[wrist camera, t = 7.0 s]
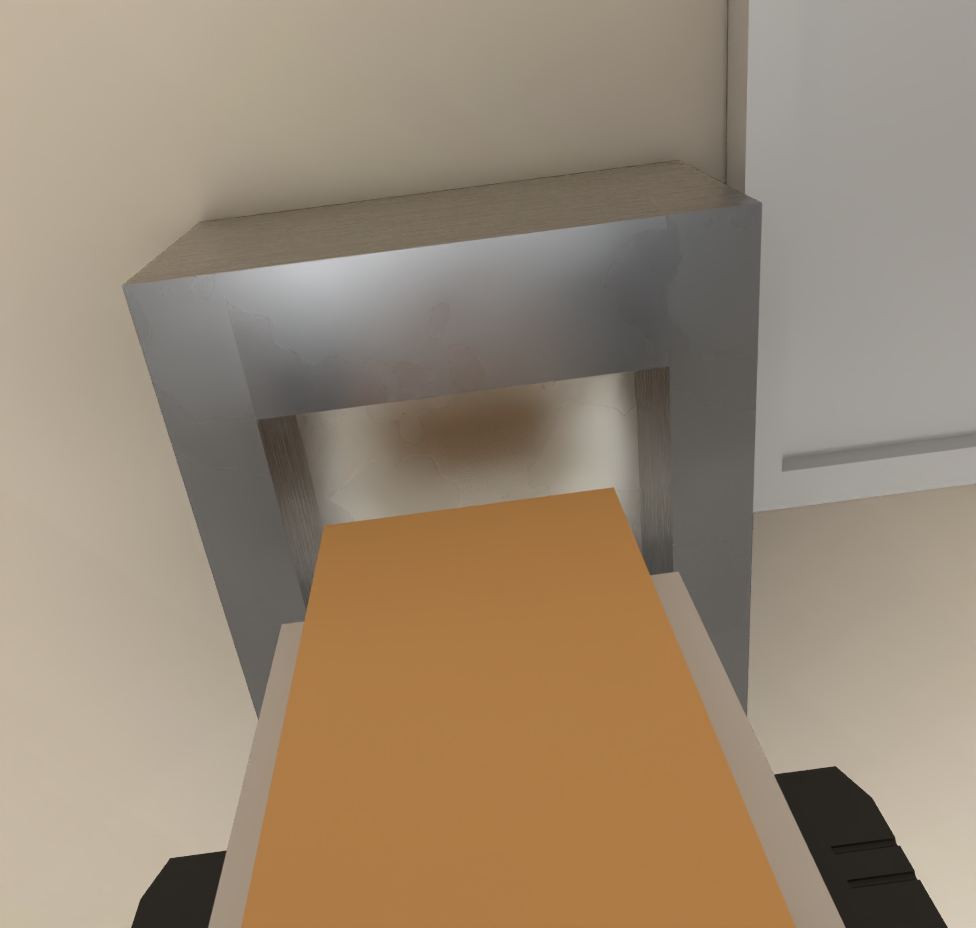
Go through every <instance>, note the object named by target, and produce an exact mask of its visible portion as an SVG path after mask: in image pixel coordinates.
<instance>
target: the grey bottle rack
mask: <svg viewBox="0 0 976 928" xmlns="http://www.w3.org/2000/svg"><path fill="white" fill-rule="evenodd" d="M761 229H762V202H760V201H758V200H756V199H754V198H752V197H750V196H748V195H746V194H744V193H742V192H740V191H738V190H736V189H734V188H732V187H730V186H728V185H726V184H724V183H722V182H720V181H718V180H716V179H714V178H712V177H710V176H708V175H706V174H705V173H703V172H701V171H699V170H697V169H695V168H693V167H691V166H689V165H687V164H685V163H683V162H681V161H679V160H678V161H670V162H663V163H655V164H647V165H640V166H632V167H624V168H616V169H609V170H601V171H593V172H585V173H578V174H570V175H562V176H554V177H547V178H539V179H531V180H523V181H516V182H508V183H500V184H492V185H485V186H477V187H469V188H462V189H454V190H446V191H438V192H431V193H423V194H415V195H407V196H400V197H392V198H384V199H376V200H369V201H361V202H353V203H345V204H338V205H330V206H322V207H314V208H307V209H299V210H291V211H284V212H276V213H268V214H260V215H253V216H245V217H237V218H229V219H222V220H214V221H206V222H199V223H198V224H197V225H196V226H195V227H193V228H192V229H191V230H190V231H188V232H187V233H186V234H185V235H184V236H182V237H181V238H180V239H179V240H177V241H176V242H175V243H174V244H172V245H171V246H170V247H169V248H168V249H166V250H165V251H164V252H163V253H161V254H160V255H159V256H158V257H157V258H155V259H154V260H153V261H152V262H150V263H149V264H148V265H147V266H146V267H144V268H143V269H142V270H141V271H139V272H138V273H137V274H136V275H135V276H133V277H132V278H131V279H130V280H128V281H127V282H126V283H125V284H123V285H122V287H123V290H124V294H125V297H126V300H127V303H128V306H129V310H130V313H131V316H132V319H133V322H134V325H135V329H136V332H137V335H138V338H139V341H140V345H141V348H142V351H143V354H144V357H145V361H146V364H147V367H148V370H149V373H150V376H151V380H152V383H153V386H154V389H155V392H156V396H157V399H158V402H159V405H160V408H161V412H162V415H163V418H164V421H165V424H166V427H167V431H168V434H169V437H170V440H171V443H172V447H173V450H174V453H175V456H176V459H177V463H178V466H179V469H180V472H181V475H182V478H183V482H184V485H185V488H186V491H187V494H188V498H189V501H190V504H191V507H192V510H193V513H194V517H195V520H196V523H197V526H198V529H199V533H200V536H201V539H202V542H203V545H204V549H205V552H206V555H207V558H208V561H209V564H210V568H211V571H212V574H213V577H214V580H215V584H216V587H217V590H218V593H219V596H220V600H221V603H222V606H223V609H224V612H225V615H226V619H227V622H228V625H229V628H230V631H231V635H232V638H233V641H234V644H235V647H236V651H237V654H238V657H239V660H240V663H241V666H242V670H243V673H244V676H245V679H246V682H247V686H248V689H249V692H250V695H251V698H252V702H253V705H254V708H255V711H256V714H257V717H258V720H259V716H260V712H261V708H262V704H263V700H264V695H265V691H266V687H267V683H268V679H269V675H270V671H271V667H272V662H273V658H274V654H275V650H276V646H277V642H278V638H279V634H280V629H281V625H282V624H288V623H295V622H303V621H305V616H306V611H307V606H308V601H309V597H310V592H311V587H312V582H313V577H314V572H315V567H316V563H317V558H318V553H319V548H320V543H321V538H322V533H323V529H324V526H325V525H332V524H340V523H347V522H355V521H362V520H370V519H378V518H385V517H393V516H400V515H408V514H415V513H423V512H430V511H438V510H446V509H453V508H461V507H468V506H476V505H483V504H491V503H498V502H506V501H514V500H521V499H529V498H536V497H544V496H551V495H559V494H566V493H574V492H582V491H589V490H597V489H604V488H612V487H614V489H615V492H616V494H617V497H618V499H619V501H620V504H621V506H622V509H623V511H624V513H625V516H626V518H627V521H628V523H629V526H630V528H631V530H632V533H633V535H634V538H635V540H636V542H637V545H638V547H639V550H640V552H641V555H642V557H643V559H644V562H645V564H646V567H647V569H648V571H649V574H650V575H656V574H664V573H671V572H679V574H680V576H681V578H682V580H683V582H684V584H685V586H686V589H687V591H688V593H689V595H690V597H691V599H692V601H693V603H694V606H695V608H696V610H697V612H698V614H699V616H700V618H701V621H702V623H703V625H704V627H705V629H706V631H707V633H708V635H709V638H710V640H711V642H712V644H713V646H714V648H715V650H716V653H717V655H718V657H719V659H720V661H721V663H722V665H723V667H724V670H725V672H726V674H727V676H728V678H729V680H730V682H731V685H732V687H733V689H734V691H735V693H736V695H737V697H738V699H739V702H740V704H741V706H742V708H743V710H744V712H745V714H746V717H747V694H748V661H749V628H750V595H751V562H752V528H753V495H754V462H755V429H756V395H757V362H758V329H759V296H760V263H761Z"/></svg>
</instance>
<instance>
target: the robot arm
mask: <svg viewBox="0 0 976 928" xmlns="http://www.w3.org/2000/svg"><path fill="white" fill-rule="evenodd" d="M650 576H651V579H652V581H653V584H654V586H655V588H656V591H657V593H658V596H659V598H660V600H661V603H662V605H663V608H664V610H665V613H666V615H667V617H668V620H669V622H670V625H671V627H672V629H673V632H674V634H675V637H676V639H677V642H678V644H679V646H680V649H681V651H682V654H683V656H684V658H685V661H686V663H687V666H688V668H689V671H690V673H691V675H692V678H693V680H694V683H695V685H696V687H697V690H698V692H699V695H700V697H701V700H702V702H703V704H704V707H705V709H706V712H707V714H708V716H709V719H710V721H711V724H712V726H713V729H714V731H715V733H716V736H717V738H718V741H719V743H720V745H721V748H722V750H723V753H724V755H725V758H726V760H727V762H728V765H729V767H730V770H731V772H732V774H733V777H734V779H735V782H736V784H737V787H738V789H739V791H740V794H741V796H742V799H743V801H744V803H745V806H746V808H747V811H748V813H749V816H750V818H751V820H752V823H753V825H754V828H755V830H756V833H757V835H758V837H759V840H760V842H761V845H762V847H763V849H764V852H765V854H766V857H767V859H768V862H769V864H770V866H771V869H772V871H773V874H774V876H775V878H776V881H777V883H778V886H779V888H780V891H781V893H782V895H783V898H784V900H785V903H786V905H787V907H788V910H789V912H790V915H791V917H792V920H793V922H794V924H795V927H796V928H948V927H947V926H946V924H945V922H944V921H943V919H942V917H941V915H940V914H939V912H938V910H937V909H936V907H935V905H934V903H933V902H932V900H931V898H930V897H929V895H928V893H927V891H926V890H925V888H924V886H923V884H922V883H921V881H920V880H917V878H916V876H915V871H914V869H913V867H912V866H911V864H910V862H909V860H908V859H907V857H906V855H905V854H904V852H903V850H902V848H901V847H900V846H898V845H897V844H896V841H895V836H894V835H893V833H892V831H891V830H890V828H889V826H888V824H887V823H886V821H885V819H884V818H883V816H882V814H881V812H880V811H879V809H878V807H877V806H876V804H875V802H874V800H873V799H872V798H871V797H870V796H869V795H868V794H867V793H866V792H865V791H863V790H862V789H861V788H860V787H859V786H858V785H856V784H855V783H854V782H853V781H852V780H851V779H850V778H848V777H847V776H846V775H845V774H844V773H843V772H841V771H840V770H839V769H838V768H837V767H836V766H834V767H827V768H819V769H812V770H805V771H797V772H790V773H782V774H775V775H774V774H773V772H772V770H771V768H770V766H769V763H768V761H767V759H766V757H765V755H764V753H763V751H762V749H761V746H760V744H759V742H758V740H757V738H756V736H755V734H754V731H753V729H752V727H751V725H750V723H749V721H748V719H747V717H746V714H745V712H744V710H743V708H742V706H741V704H740V702H739V699H738V697H737V695H736V693H735V691H734V689H733V687H732V685H731V682H730V680H729V678H728V676H727V674H726V672H725V670H724V667H723V665H722V663H721V661H720V659H719V657H718V655H717V653H716V650H715V648H714V646H713V644H712V642H711V640H710V638H709V635H708V633H707V631H706V629H705V627H704V625H703V623H702V621H701V618H700V616H699V614H698V612H697V610H696V608H695V606H694V603H693V601H692V599H691V597H690V595H689V593H688V591H687V589H686V586H685V584H684V582H683V580H682V578H681V576H680V574H679V572H671V573H664V574H656V575H650ZM303 626H304V621H303V622H295V623H288V624H282V625H281V629H280V634H279V638H278V642H277V646H276V650H275V654H274V658H273V662H272V667H271V671H270V675H269V679H268V683H267V687H266V691H265V695H264V700H263V704H262V708H261V712H260V716H259V720H258V724H257V728H256V733H255V737H254V741H253V745H252V749H251V753H250V757H249V761H248V766H247V770H246V774H245V778H244V782H243V786H242V790H241V794H240V799H239V803H238V807H237V811H236V815H235V819H234V823H233V827H232V832H231V836H230V840H229V844H228V848H227V851H221V852H213V853H206V854H198V855H191V856H184V857H176V858H170V859H169V861H168V862H167V864H166V865H165V866H164V868H163V869H162V870H161V872H160V873H159V875H158V876H157V877H156V879H155V880H154V881H153V883H152V884H151V886H150V887H149V888H148V890H147V891H146V892H145V894H144V895H143V897H142V898H141V900H140V903H139V906H138V909H137V912H136V915H135V918H134V921H133V924H132V927H131V928H241V926H242V921H243V916H244V912H245V907H246V902H247V897H248V892H249V887H250V883H251V878H252V873H253V868H254V863H255V858H256V853H257V849H258V844H259V839H260V834H261V829H262V824H263V820H264V815H265V810H266V805H267V800H268V795H269V790H270V786H271V781H272V776H273V771H274V766H275V761H276V756H277V752H278V747H279V742H280V737H281V732H282V727H283V723H284V718H285V713H286V708H287V703H288V698H289V693H290V689H291V684H292V679H293V674H294V669H295V664H296V660H297V655H298V650H299V645H300V640H301V635H302V630H303Z"/></svg>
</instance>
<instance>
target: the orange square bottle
mask: <svg viewBox="0 0 976 928" xmlns="http://www.w3.org/2000/svg"><path fill="white" fill-rule="evenodd" d="M241 928H796V927H795V924H794V922H793V920H792V917H791V915H790V912H789V910H788V907H787V905H786V903H785V900H784V898H783V895H782V893H781V891H780V888H779V886H778V883H777V881H776V878H775V876H774V874H773V871H772V869H771V866H770V864H769V862H768V859H767V857H766V854H765V852H764V849H763V847H762V845H761V842H760V840H759V837H758V835H757V833H756V830H755V828H754V825H753V823H752V820H751V818H750V816H749V813H748V811H747V808H746V806H745V803H744V801H743V799H742V796H741V794H740V791H739V789H738V787H737V784H736V782H735V779H734V777H733V774H732V772H731V770H730V767H729V765H728V762H727V760H726V758H725V755H724V753H723V750H722V748H721V745H720V743H719V741H718V738H717V736H716V733H715V731H714V729H713V726H712V724H711V721H710V719H709V716H708V714H707V712H706V709H705V707H704V704H703V702H702V700H701V697H700V695H699V692H698V690H697V687H696V685H695V683H694V680H693V678H692V675H691V673H690V671H689V668H688V666H687V663H686V661H685V658H684V656H683V654H682V651H681V649H680V646H679V644H678V642H677V639H676V637H675V634H674V632H673V629H672V627H671V625H670V622H669V620H668V617H667V615H666V613H665V610H664V608H663V605H662V603H661V600H660V598H659V596H658V593H657V591H656V588H655V586H654V584H653V581H652V579H651V576H650V574H649V571H648V569H647V567H646V564H645V562H644V559H643V557H642V555H641V552H640V550H639V547H638V545H637V542H636V540H635V538H634V535H633V533H632V530H631V528H630V526H629V523H628V521H627V518H626V516H625V513H624V511H623V509H622V506H621V504H620V501H619V499H618V497H617V494H616V492H615V489H614V487H612V488H604V489H597V490H589V491H582V492H574V493H566V494H559V495H551V496H544V497H536V498H529V499H521V500H514V501H506V502H498V503H491V504H483V505H476V506H468V507H461V508H453V509H446V510H438V511H430V512H423V513H415V514H408V515H400V516H393V517H385V518H378V519H370V520H362V521H355V522H347V523H340V524H332V525H325V526H324V529H323V533H322V538H321V543H320V548H319V553H318V558H317V563H316V567H315V572H314V577H313V582H312V587H311V592H310V597H309V601H308V606H307V611H306V616H305V621H304V626H303V630H302V635H301V640H300V645H299V650H298V655H297V660H296V664H295V669H294V674H293V679H292V684H291V689H290V693H289V698H288V703H287V708H286V713H285V718H284V723H283V727H282V732H281V737H280V742H279V747H278V752H277V756H276V761H275V766H274V771H273V776H272V781H271V786H270V790H269V795H268V800H267V805H266V810H265V815H264V820H263V824H262V829H261V834H260V839H259V844H258V849H257V853H256V858H255V863H254V868H253V873H252V878H251V883H250V887H249V892H248V897H247V902H246V907H245V912H244V916H243V921H242V926H241Z"/></svg>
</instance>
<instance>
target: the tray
mask: <svg viewBox="0 0 976 928" xmlns="http://www.w3.org/2000/svg"><path fill="white" fill-rule="evenodd" d="M726 185H728V186H730V187H732V188H734V189H736V190H738V191H740V192H742V193H744V194H746V195H748V196H750V197H752V198H754V199H756V200H758V201H760V202H762V229H761V263H760V296H759V329H758V362H757V395H756V429H755V462H754V495H753V513H755V512H762V511H770V510H778V509H785V508H793V507H801V506H808V505H816V504H824V503H831V502H839V501H847V500H854V499H862V498H870V497H877V496H885V495H893V494H901V493H908V492H916V491H924V490H931V489H939V488H947V487H954V486H962V485H970V484H976V0H728V78H727V166H726Z"/></svg>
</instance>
